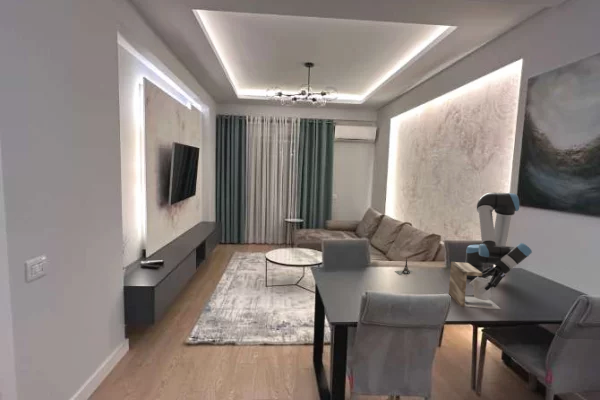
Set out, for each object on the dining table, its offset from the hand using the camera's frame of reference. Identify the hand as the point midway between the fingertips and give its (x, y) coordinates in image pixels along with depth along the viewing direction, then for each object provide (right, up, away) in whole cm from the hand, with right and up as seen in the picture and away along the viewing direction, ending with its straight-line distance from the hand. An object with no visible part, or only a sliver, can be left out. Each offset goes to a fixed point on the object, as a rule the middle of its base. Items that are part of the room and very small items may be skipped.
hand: (475, 288), depth 188 cm
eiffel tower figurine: (-23, -3, +53) cm, 58 cm away
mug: (+3, -5, 0) cm, 5 cm away
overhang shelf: (-6, -7, +2) cm, 10 cm away
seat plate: (+1, -7, +1) cm, 8 cm away
